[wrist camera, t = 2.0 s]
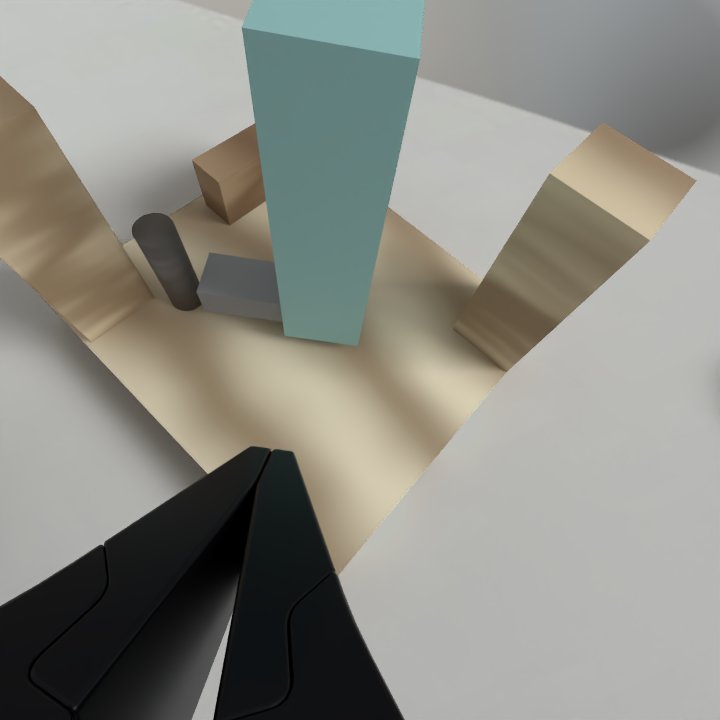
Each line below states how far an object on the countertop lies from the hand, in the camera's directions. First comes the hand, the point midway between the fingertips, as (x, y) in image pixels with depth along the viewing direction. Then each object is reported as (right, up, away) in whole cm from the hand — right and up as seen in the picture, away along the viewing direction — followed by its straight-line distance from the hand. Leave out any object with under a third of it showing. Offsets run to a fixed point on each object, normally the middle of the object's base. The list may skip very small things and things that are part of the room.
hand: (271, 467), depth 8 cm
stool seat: (-1, +4, +15) cm, 16 cm away
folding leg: (-2, +5, +12) cm, 13 cm away
